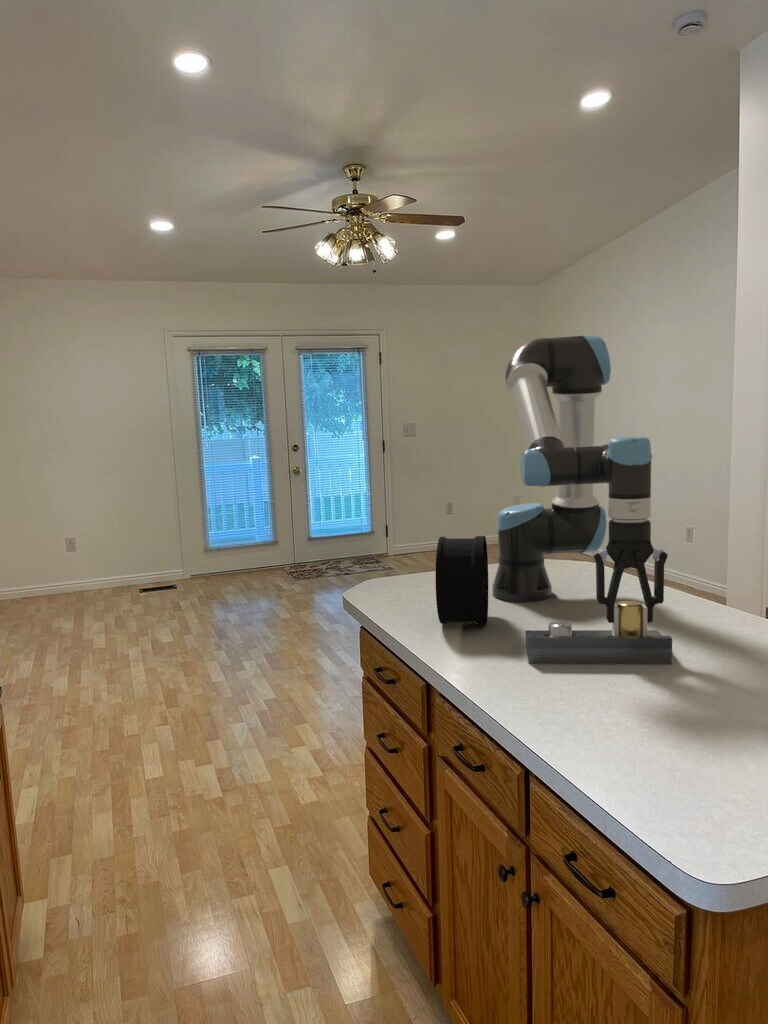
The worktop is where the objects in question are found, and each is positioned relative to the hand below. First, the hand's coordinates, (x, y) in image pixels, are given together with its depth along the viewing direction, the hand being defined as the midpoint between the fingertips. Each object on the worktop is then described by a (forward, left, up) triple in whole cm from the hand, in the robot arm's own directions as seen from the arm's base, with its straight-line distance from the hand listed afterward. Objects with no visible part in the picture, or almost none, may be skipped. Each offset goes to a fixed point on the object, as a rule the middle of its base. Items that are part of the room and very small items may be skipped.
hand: (629, 638), depth 136 cm
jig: (0, -7, -3) cm, 7 cm away
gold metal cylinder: (0, 0, -3) cm, 3 cm away
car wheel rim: (-21, -33, -3) cm, 39 cm away
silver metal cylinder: (0, -13, -3) cm, 13 cm away
